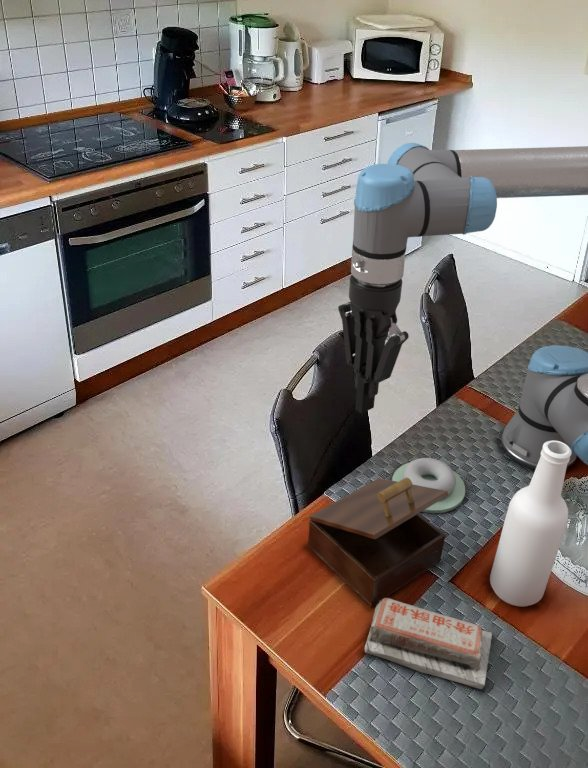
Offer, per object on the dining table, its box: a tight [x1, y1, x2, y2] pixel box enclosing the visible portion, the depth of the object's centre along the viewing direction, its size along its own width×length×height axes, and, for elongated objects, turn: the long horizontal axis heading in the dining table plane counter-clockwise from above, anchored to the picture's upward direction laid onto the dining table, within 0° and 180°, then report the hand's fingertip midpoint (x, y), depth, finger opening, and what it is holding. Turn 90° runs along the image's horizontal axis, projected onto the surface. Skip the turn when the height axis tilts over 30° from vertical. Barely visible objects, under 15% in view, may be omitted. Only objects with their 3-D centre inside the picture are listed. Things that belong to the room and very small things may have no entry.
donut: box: [403, 457, 456, 494], centre depth 141 cm, size 10×3×10 cm
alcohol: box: [489, 441, 572, 608], centre depth 114 cm, size 9×9×30 cm
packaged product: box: [363, 597, 493, 690], centre depth 111 cm, size 18×5×10 cm
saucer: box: [391, 462, 466, 514], centre depth 142 cm, size 14×14×1 cm
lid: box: [308, 477, 448, 539], centre depth 121 cm, size 17×16×5 cm
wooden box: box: [307, 513, 447, 609], centre depth 126 cm, size 16×16×7 cm
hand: (364, 408), depth 119 cm, fingers closed
